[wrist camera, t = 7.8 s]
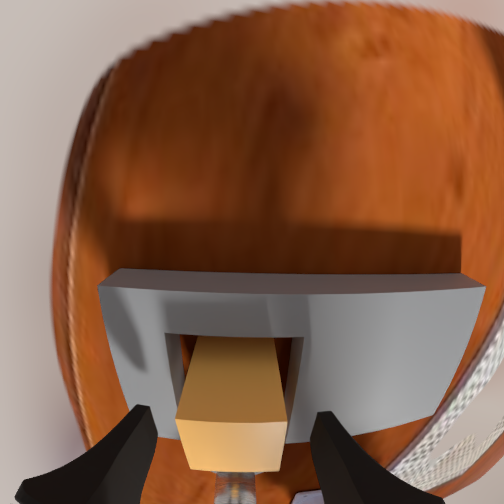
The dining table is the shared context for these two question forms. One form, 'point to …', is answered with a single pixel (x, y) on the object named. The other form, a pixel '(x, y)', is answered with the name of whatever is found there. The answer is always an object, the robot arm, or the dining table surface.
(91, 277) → the dining table surface
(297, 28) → the dining table surface
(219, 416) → the tab block
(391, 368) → the board
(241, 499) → the bobbin post
